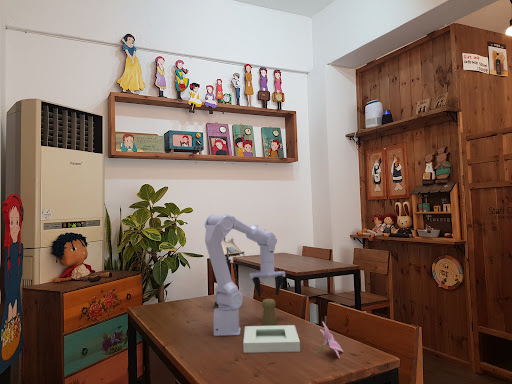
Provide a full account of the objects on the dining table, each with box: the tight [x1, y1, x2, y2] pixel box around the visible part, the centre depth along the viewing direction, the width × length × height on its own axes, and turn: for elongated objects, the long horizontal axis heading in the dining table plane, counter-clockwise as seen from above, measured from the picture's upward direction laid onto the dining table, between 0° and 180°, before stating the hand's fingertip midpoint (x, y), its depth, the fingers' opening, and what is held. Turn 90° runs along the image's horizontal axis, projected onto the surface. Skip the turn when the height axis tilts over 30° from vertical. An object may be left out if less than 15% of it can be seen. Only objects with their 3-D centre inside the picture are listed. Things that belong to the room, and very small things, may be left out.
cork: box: [261, 298, 278, 326], centre depth 147 cm, size 6×6×11 cm
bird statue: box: [212, 236, 245, 310], centre depth 179 cm, size 17×13×35 cm
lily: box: [317, 321, 344, 359], centre depth 119 cm, size 11×11×9 cm
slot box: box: [242, 324, 301, 354], centre depth 131 cm, size 18×18×3 cm
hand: (268, 295), depth 157 cm, fingers open, 7 cm apart
